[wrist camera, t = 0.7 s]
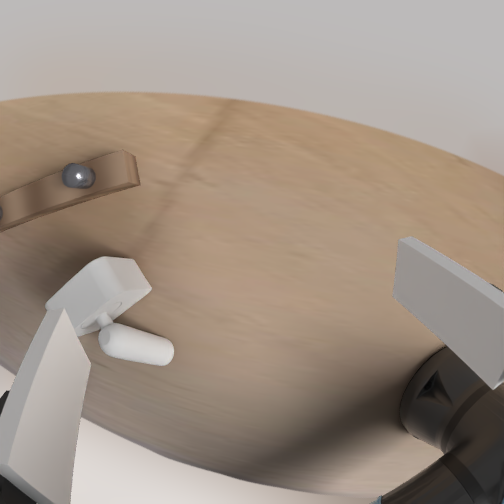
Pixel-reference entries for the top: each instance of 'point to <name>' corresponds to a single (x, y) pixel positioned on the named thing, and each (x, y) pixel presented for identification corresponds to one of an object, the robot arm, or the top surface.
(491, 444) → the robot arm
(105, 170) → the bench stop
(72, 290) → the white knobbed block
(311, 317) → the top surface
